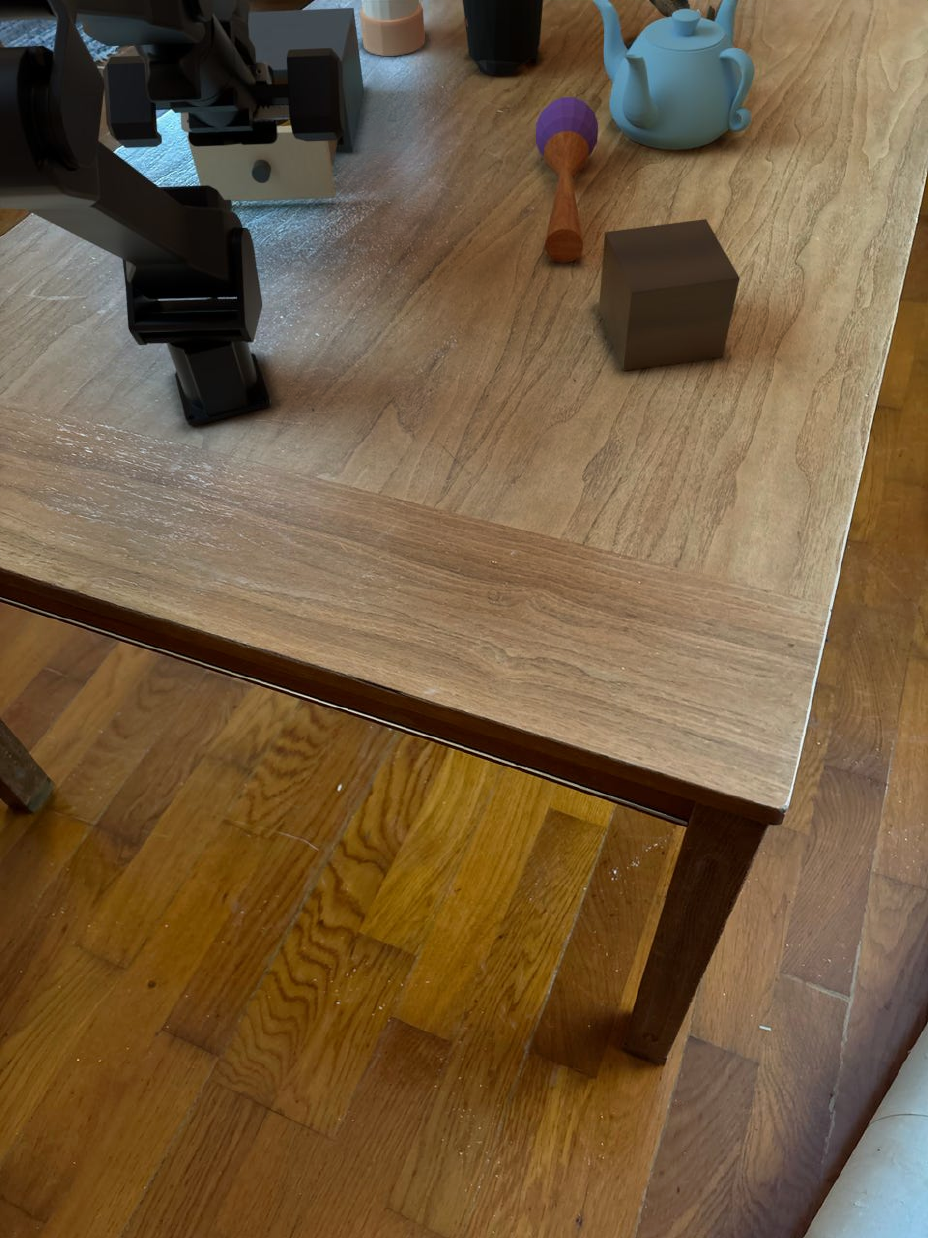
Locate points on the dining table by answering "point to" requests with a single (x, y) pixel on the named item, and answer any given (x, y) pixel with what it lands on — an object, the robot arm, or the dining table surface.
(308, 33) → the cabinet
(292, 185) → the drawer
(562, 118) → the purple maraca
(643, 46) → the teapot
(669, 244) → the block stand
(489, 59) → the portable speaker
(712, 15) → the eagle figurine
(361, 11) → the pepper shaker
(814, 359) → the dining table surface
